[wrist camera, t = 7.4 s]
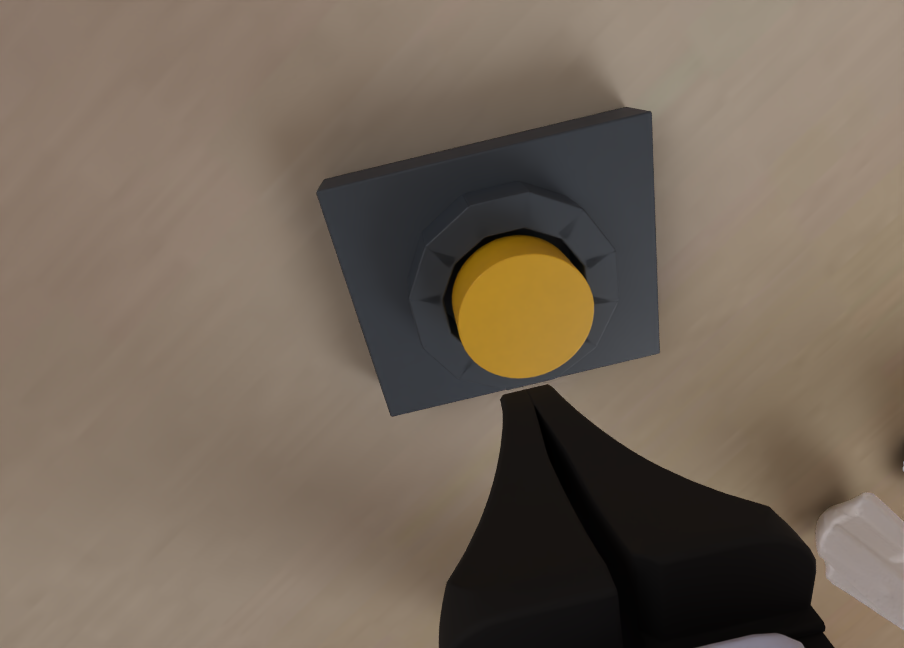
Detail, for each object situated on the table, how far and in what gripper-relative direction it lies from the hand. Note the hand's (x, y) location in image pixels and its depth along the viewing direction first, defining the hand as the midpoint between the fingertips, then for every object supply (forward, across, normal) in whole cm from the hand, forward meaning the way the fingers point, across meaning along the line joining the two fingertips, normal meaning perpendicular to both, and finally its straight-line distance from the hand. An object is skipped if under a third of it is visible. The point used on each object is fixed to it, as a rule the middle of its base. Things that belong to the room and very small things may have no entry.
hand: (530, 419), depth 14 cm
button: (+6, -1, -1) cm, 6 cm away
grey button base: (+10, -1, -1) cm, 10 cm away
